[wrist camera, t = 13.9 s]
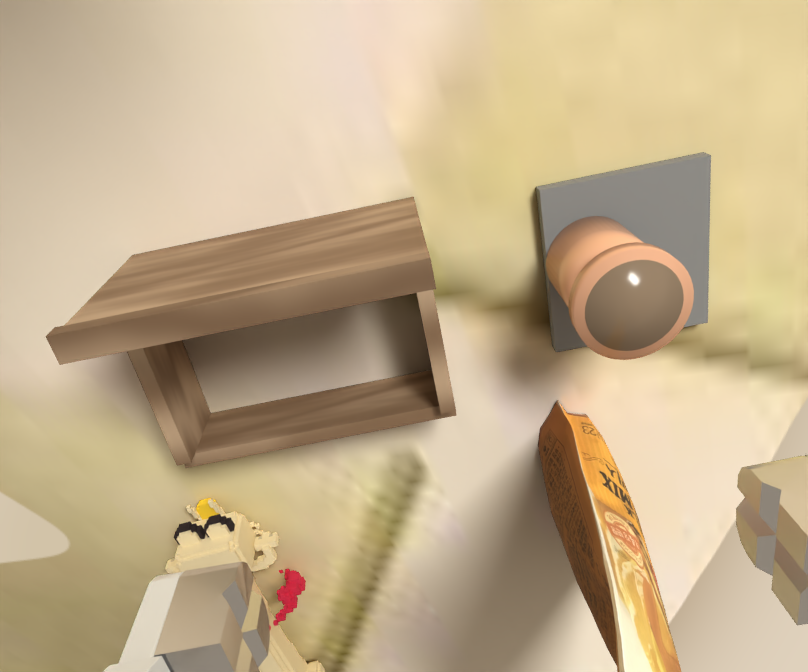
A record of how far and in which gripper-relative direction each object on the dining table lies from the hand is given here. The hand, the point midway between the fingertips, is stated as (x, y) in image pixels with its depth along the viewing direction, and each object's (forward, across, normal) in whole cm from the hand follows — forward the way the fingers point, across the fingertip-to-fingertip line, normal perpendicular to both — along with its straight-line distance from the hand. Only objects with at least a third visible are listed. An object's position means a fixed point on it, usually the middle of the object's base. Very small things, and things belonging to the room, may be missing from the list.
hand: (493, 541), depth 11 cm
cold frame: (+34, +9, +10) cm, 36 cm away
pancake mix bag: (+34, -9, +29) cm, 46 cm away
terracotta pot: (+33, -11, +10) cm, 36 cm away
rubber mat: (+34, -14, +10) cm, 38 cm away
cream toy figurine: (+34, +19, +35) cm, 53 cm away
